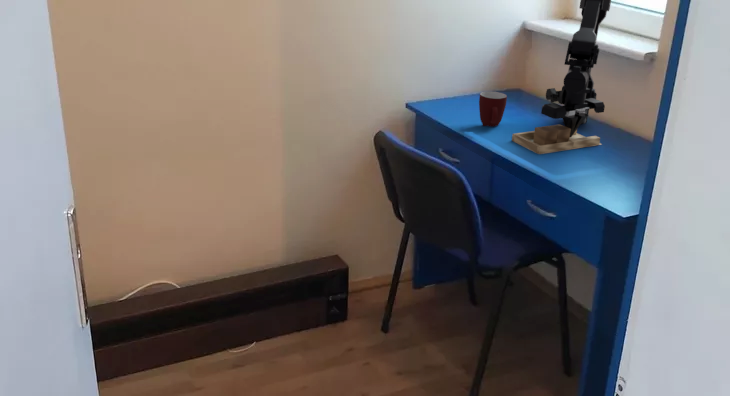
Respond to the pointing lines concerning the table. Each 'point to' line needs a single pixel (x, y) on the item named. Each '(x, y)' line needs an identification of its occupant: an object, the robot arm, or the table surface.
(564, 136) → the brown cube
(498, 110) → the mug
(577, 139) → the slot board
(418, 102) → the table surface
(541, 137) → the brown wooden cube
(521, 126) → the table surface
